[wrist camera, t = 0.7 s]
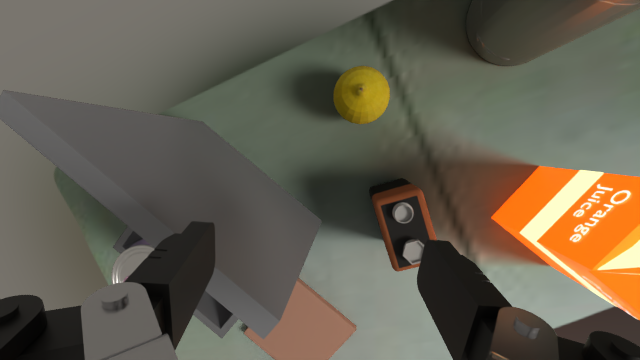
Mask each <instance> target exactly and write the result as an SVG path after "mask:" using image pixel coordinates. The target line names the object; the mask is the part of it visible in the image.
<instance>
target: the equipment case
mask: <svg viewBox="0 0 640 360" xmlns="http://www.w3.org/2000/svg"><path fill="white" fill-rule="evenodd" d="M0 119H1V120H2V121H3V122H4V123H6V124H7V125H8V126H9V127H10V128H12V129H13V130H14V131H15V132H16V133H18V134H19V135H20V136H21V137H22V138H24V139H25V140H26V141H27V142H28V143H29V144H31V145H32V146H33V147H34V148H36V149H37V150H38V151H39V152H40V153H41V154H43V155H44V156H45V157H46V158H47V159H49V160H50V161H51V162H52V163H53V164H54V165H56V166H57V167H58V168H59V169H60V170H62V171H63V172H64V173H65V174H66V175H68V176H69V177H70V178H71V179H72V180H74V181H75V182H76V183H77V184H78V185H80V186H81V187H82V188H83V189H84V190H86V191H87V192H88V193H89V194H90V195H91V196H93V197H94V198H95V199H96V200H97V201H99V202H100V203H101V204H102V205H103V206H105V207H106V208H107V209H108V210H109V211H111V212H112V213H113V214H114V215H115V216H117V217H118V218H119V219H120V220H121V221H123V222H124V223H125V224H126V225H127V226H128V227H127V228H126V229H125V231H124V232H123V234H122V235H121V236H120V238H119V239H118V241H117V242H116V243H115V245H114V246H113V248H114V249H116V250H117V251H118V252H119V253H120V254H121V253H122V252H124V251H125V250H127V249H128V248H129V247H130V246H131V245H133V244H134V243H136V242H138V241H140V240H142V239H144V240H145V241H146V242H148V243H149V244H150V245H151V246H152V247H154V248H156V246H157V245H158V244H159V243H160V242H161V241H162V240H164V239H165V238H167V237H169V236H171V235H173V234H174V233H179V234H181V233H182V232H183V231H184V230H185V229H186V227H187V226H188V225H189V224H190V223H191V222H192V221H199V222H212V223H214V225H215V268H214V272H213V275H212V277H211V279H210V281H209V283H208V285H207V287H206V289H205V291H204V293H203V295H202V297H201V299H200V301H199V303H198V305H197V307H196V309H195V311H194V313H193V315H194V316H195V317H197V318H198V319H199V320H200V321H201V322H203V323H204V324H205V325H206V326H207V327H209V328H210V329H211V330H212V331H213V332H214V333H216V334H217V335H218V336H219V337H220V338H223V337H224V335H225V334H226V333H227V332H228V331H229V330H230V328H231V327H232V326H233V325H234V324H235V322H236V321H237V320H238V319H239V320H241V321H242V322H243V323H244V324H245V325H247V326H248V327H249V328H250V329H251V330H253V331H254V332H255V333H256V334H257V335H259V336H260V337H261V338H262V339H263V340H264V339H265V338H266V336H267V335H268V334H269V333H270V332H271V331H272V330H273V328H274V327H275V326H276V325H277V324H278V323H279V322H280V320H281V318H282V315H283V313H284V310H285V308H286V306H287V303H288V301H289V298H290V296H291V294H292V291H293V289H294V286H295V284H296V282H297V279H298V277H299V274H300V272H301V270H302V267H303V265H304V262H305V260H306V258H307V255H308V253H309V250H310V248H311V246H312V243H313V241H314V238H315V236H316V234H317V231H318V229H319V226H320V224H321V222H322V220H321V219H319V218H318V217H317V216H316V215H314V214H313V213H312V212H311V211H310V210H308V209H307V208H306V207H305V206H304V205H302V204H301V203H300V202H299V201H298V200H296V199H295V198H294V197H293V196H292V195H290V194H289V193H288V192H287V191H286V190H284V189H283V188H282V187H281V186H280V185H278V184H277V183H276V182H275V181H273V180H272V179H271V178H270V177H269V176H267V175H266V174H265V173H264V172H263V171H261V170H260V169H259V168H258V167H257V166H255V165H254V164H253V163H252V162H251V161H249V160H248V159H247V158H246V157H245V156H243V155H242V154H241V153H240V152H239V151H237V150H236V149H235V148H234V147H232V146H231V145H230V144H229V143H228V142H226V141H225V140H224V139H223V138H222V137H220V136H219V135H218V134H217V133H216V132H214V131H213V130H212V129H211V128H210V127H208V126H207V125H206V124H205V123H204V122H201V121H195V120H189V119H182V118H176V117H170V116H163V115H157V114H151V113H144V112H138V111H132V110H126V109H119V108H113V107H107V106H101V105H94V104H88V103H82V102H75V101H69V100H63V99H57V98H50V97H44V96H38V95H31V94H25V93H19V92H13V91H6V90H3V92H2V94H1V96H0Z"/></svg>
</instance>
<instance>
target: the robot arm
mask: <svg viewBox="0 0 640 360" xmlns="http://www.w3.org/2000/svg"><path fill="white" fill-rule="evenodd" d="M638 9H640V0H473V1H472V2H471V4H470V7H469V10H468V13H467V19H466V30H467V35H468V39H469V42H470V44H471V45H472V47H473V49H474V50H475V51H476V52H477V53H478V54H479V55H480V56H481V57H482V58H484V59H485V60H487V61H488V62H491V63H494V64H496V65H502V66H514V65H520V64H523V63H526V62H529V61H531V60H533V59H535V58H537V57H539V56H541V55H543V54H545V53H548V52H550V51H552V50H554V49H556V48H558V47H561V46H563V45H565V44H567V43H569V42H571V41H573V40H575V39H577V38H579V37H581V36H584V35H586V34H588V33H590V32H592V31H594V30H596V29H598V28H600V27H602V26H604V25H607V24H609V23H611V22H613V21H615V20H617V19H619V18H621V17H623V16H625V15H627V14H630V13H632V12H634V11H636V10H638ZM214 268H215V225H214V223H212V222H199V221H192V222H191V223H190V224H189V225H188V226H187V227H186V229H185V230H184V231H183V232H182V233H181V234H179V233H174V234H173V235H171V236H169V237H167V238H165V239H164V240H162V241H161V242H160V243H159V244H158V245H157V246H156V248H155V249H154V251H152V252H151V253H150V254H149V255H148V257H147V258H145V260H144V261H143V262H142V263H141V264H140V265H139V266H138V267H137V268H136V269H135V270H134V272H133V273H132V274H131V275H130V276H129V277H128V278H127V279H126V280H125V281H124V282H122V283H116V284H112V285H109V286H106V287H103V288H101V289H99V290H97V291H96V292H94V293H92V294H91V295H90V296H89V297H88V298H87V299H86V300H85V301H84V302H83V304H82V305H81V306H76V307H69V308H63V309H56V310H50V311H45V309H44V305H43V302H42V300H41V299H40V298H39V297H37V296H33V295H18V296H12V297H8V298H4V299H0V360H178V358H177V356H176V353H175V349H176V347H177V345H178V343H179V341H180V339H181V337H182V335H183V333H184V331H185V329H186V327H187V325H188V323H189V321H190V319H191V317H192V315H193V313H194V311H195V309H196V307H197V305H198V303H199V301H200V299H201V297H202V295H203V293H204V291H205V289H206V287H207V285H208V283H209V281H210V279H211V277H212V275H213V272H214ZM417 285H418V289H419V292H420V294H421V296H422V298H423V300H424V302H425V304H426V306H427V308H428V310H429V312H430V314H431V316H432V318H433V320H434V322H435V324H436V326H437V328H438V330H439V332H440V334H441V336H442V338H443V340H444V342H445V344H446V346H447V348H448V350H449V352H450V354H451V356H452V358H453V360H640V347H639V346H637V345H636V344H634V343H632V342H630V341H628V340H626V339H624V338H622V337H620V336H617V335H614V334H611V333H608V332H603V331H594V332H592V333H591V334H590V335H589V337H588V339H587V342H586V343H585V344H582V343H579V342H575V341H572V340H568V339H565V338H561V337H558V336H557V335H556V333H555V331H554V330H553V329H552V327H551V326H550V325H549V324H548V323H546V322H545V321H544V320H543V319H541V318H540V317H538V316H536V315H534V314H533V313H531V312H528V311H526V310H523V309H520V308H516V307H512V306H511V305H510V303H509V302H508V301H507V300H506V299H505V298H504V296H503V295H502V294H501V293H500V292H499V291H498V290H497V288H496V287H495V286H494V285H493V284H492V283H490V280H489V279H488V278H487V277H486V276H485V275H483V272H482V271H481V270H480V269H479V268H478V267H477V265H476V264H475V263H473V262H472V261H470V260H469V259H467V258H466V257H465V256H463V255H460V254H459V253H458V251H457V250H456V249H455V248H454V247H453V245H452V244H451V243H450V242H449V241H441V240H427V241H426V243H425V245H424V249H423V254H422V258H421V262H420V266H419V270H418V275H417Z"/></svg>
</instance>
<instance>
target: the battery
mask: <svg viewBox="0 0 640 360" xmlns="http://www.w3.org/2000/svg"><path fill="white" fill-rule="evenodd" d="M369 193H370V196H371V200H372V203H373V207H374V210H375V213H376V216H377V220H378V223H379V226H380V230H381V233H382V236H383V240H384V243H385V246H386V249H387V252H388V255H389V258H390V261H391V264H392V267H393V269H394V270H395V271H402V270H406V269H411V268H415V267H419V266H420V262H421V258H422V254H423V249H424V245H425V243H426V241H427V240H437V239H436V236H435V232H434V229H433V225H432V222H431V218H430V215H429V211H428V208H427V204H426V201H425V197H424V194H423V192H422V190H421V189H419V188H418V187H416V186H415V185H413V184H412V183H410V182H408V181H407V180H405V179H403V178H401V179H397V180H394V181H390V182H387V183H383V184H380V185H377V186H373V187H371V188H370V190H369Z"/></svg>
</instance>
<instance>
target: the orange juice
mask: <svg viewBox="0 0 640 360" xmlns="http://www.w3.org/2000/svg"><path fill="white" fill-rule="evenodd" d="M491 218H492V219H493V220H495V221H496V222H497V223H498V224H500V225H501V226H502V227H503V228H504V229H506V230H507V231H508V232H509V233H511V234H512V235H513V236H514V237H516V238H517V239H518V240H519V241H521V242H522V243H523V244H524V245H526V246H527V247H528V248H529V249H531V250H532V251H533V252H534V253H535V254H537V255H538V256H539V257H540V258H542V259H543V260H544V261H545V262H547V263H548V264H549V265H550V266H552V267H553V268H555V269H557V270H558V271H560V272H561V273H563V274H565V275H566V276H568V277H570V278H571V279H573V280H575V281H576V282H578V283H580V284H581V285H583V286H584V287H586V288H588V289H589V290H591V291H592V292H593V293H595V294H597V295H598V296H600V297H602V298H603V299H605V300H607V301H608V302H610V303H611V304H613V305H615V306H616V307H619V308H621V309H622V310H624V311H626V312H627V313H628V314H630V315H632V316H634V317H635V318H636V319H639V320H640V177H634V176H625V175H616V174H607V173H604V172H594V171H585V170H580V171H579V170H570V169H561V168H552V167H543V166H539V167H538V168H537V169H536V171H535V172H534V173H533V174H532V175H531V176H530V177H529V178H528V179H527V180H526V181H525V182H524V183H523V184H522V185H521V186H520V187H519V188H518V190H517V191H516V192H515V193H514V194H513V195H512V196H511V197H510V198H509V199H508V200H507V201H506V202H505V203H504V204H503V205H502V206H501V207H500V209H499V210H498V211H497V212H496V213H495V214H494V215H493V216H492V217H491Z"/></svg>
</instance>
